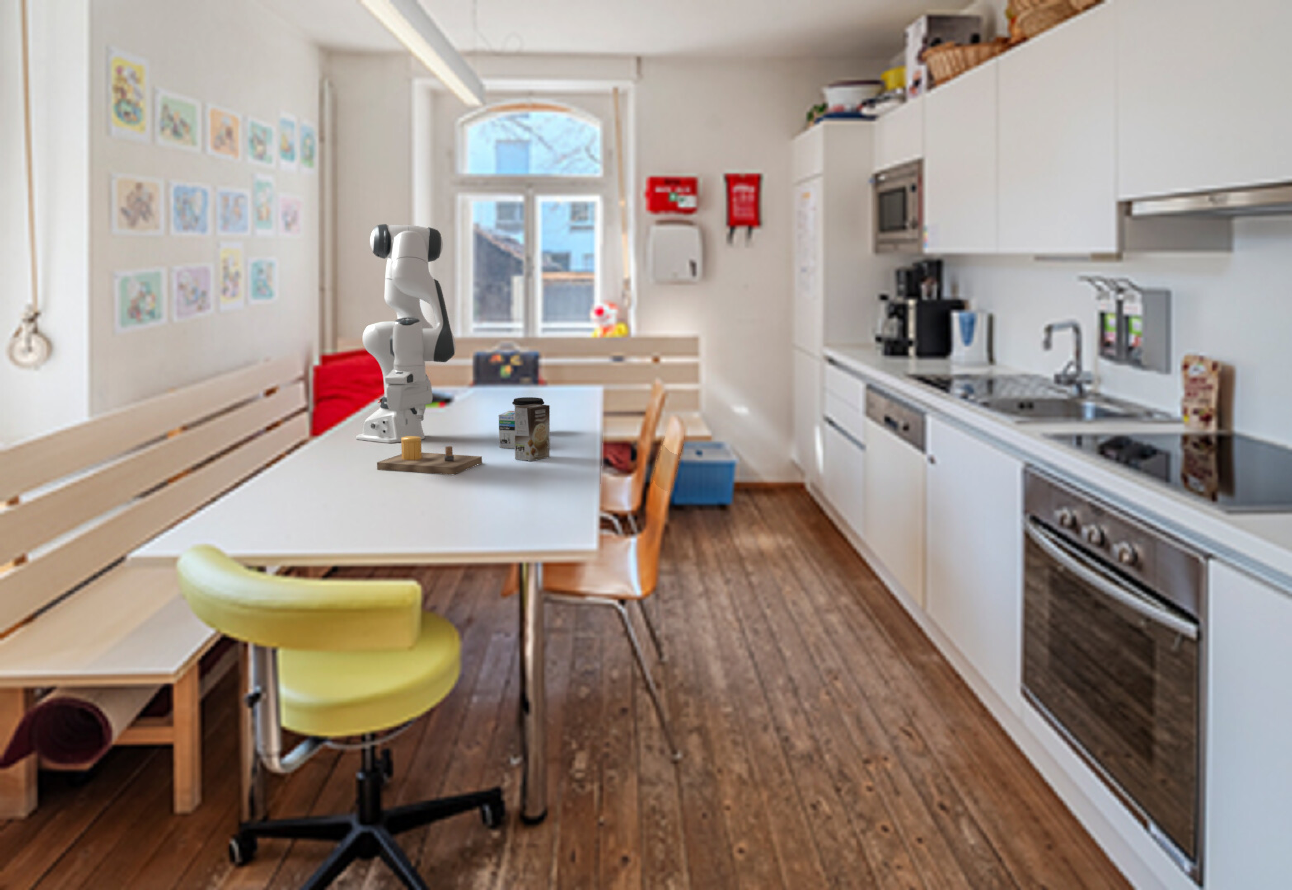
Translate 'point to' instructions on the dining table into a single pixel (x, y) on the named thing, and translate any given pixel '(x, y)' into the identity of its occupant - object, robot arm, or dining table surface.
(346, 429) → the dining table surface
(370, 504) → the dining table surface
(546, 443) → the coffee box
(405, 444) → the wire cap
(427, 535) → the dining table surface
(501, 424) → the light bulb box
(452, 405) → the dining table surface
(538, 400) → the coffee cup
